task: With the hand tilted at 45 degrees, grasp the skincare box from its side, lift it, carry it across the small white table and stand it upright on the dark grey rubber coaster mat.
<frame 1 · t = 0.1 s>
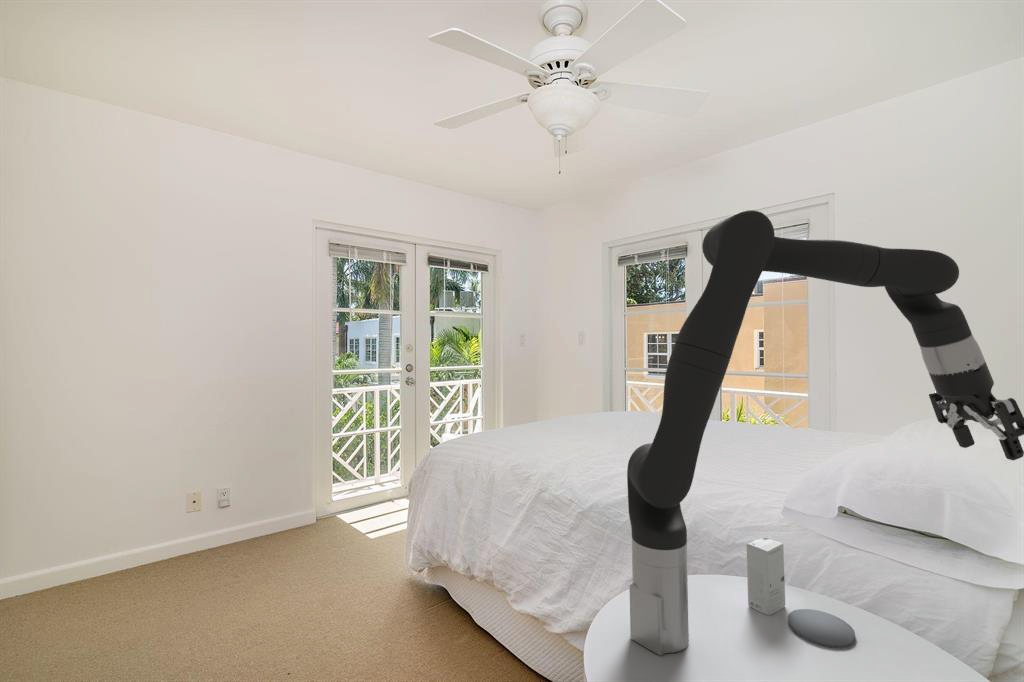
hand: (990, 451, 83), 31 cm above the table, tool tilted 20°, fingers open, 8 cm apart
coaster mat: (820, 629, 86), on the table
skincare box: (766, 607, 94), on the table
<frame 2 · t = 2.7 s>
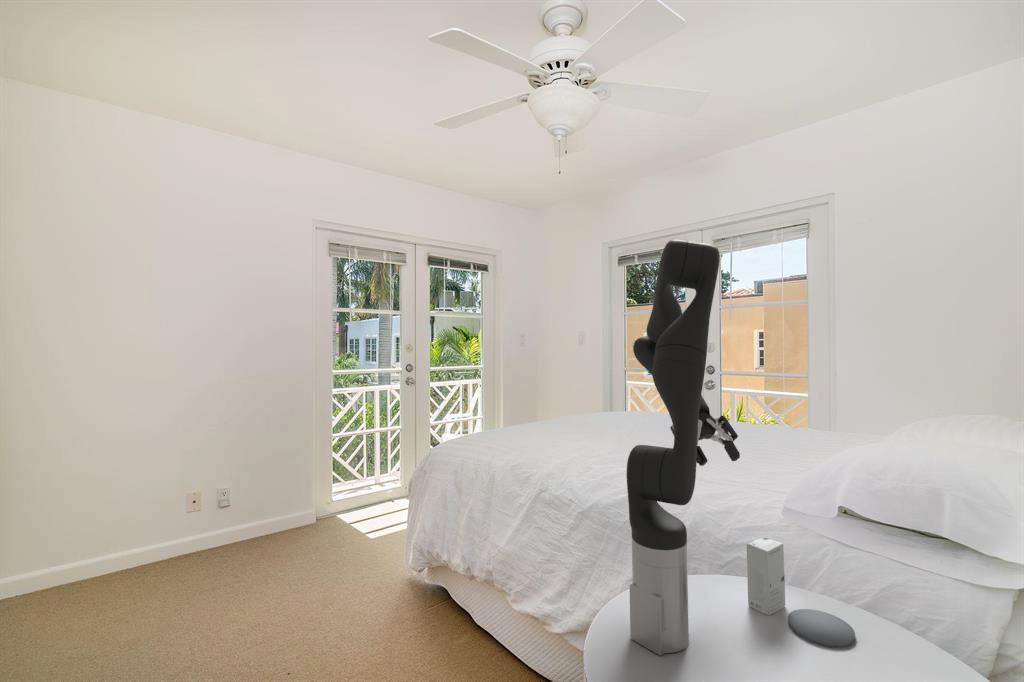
hand: (720, 461, 104), 25 cm above the table, tool tilted 45°, fingers open, 8 cm apart
nothing on the table moved.
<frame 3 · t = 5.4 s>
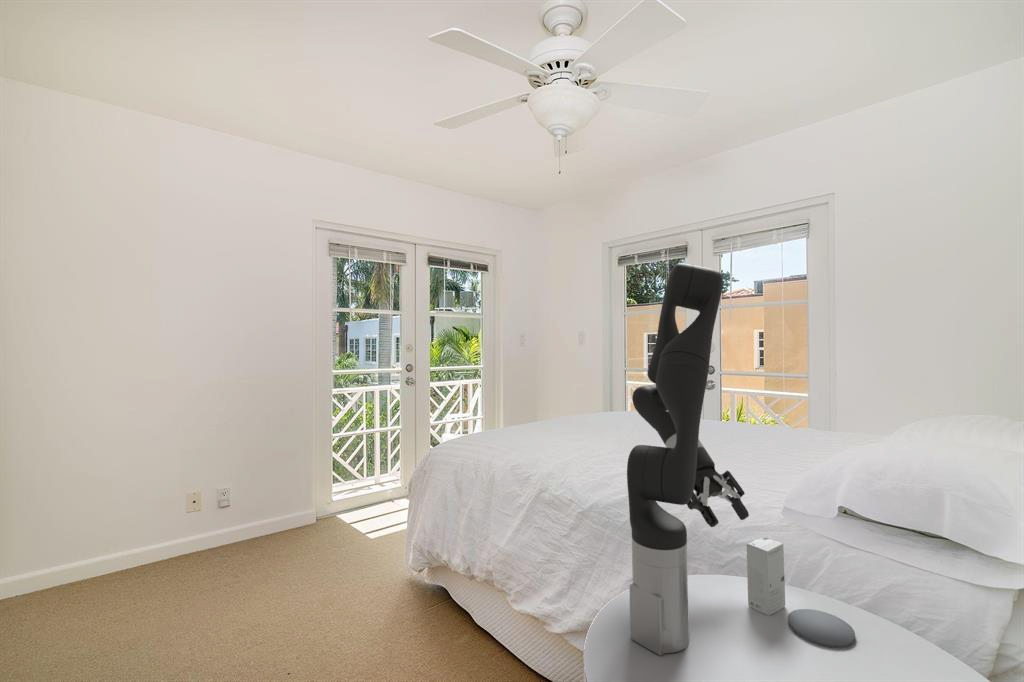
hand: (730, 521, 101), 13 cm above the table, tool tilted 45°, fingers open, 8 cm apart
nothing on the table moved.
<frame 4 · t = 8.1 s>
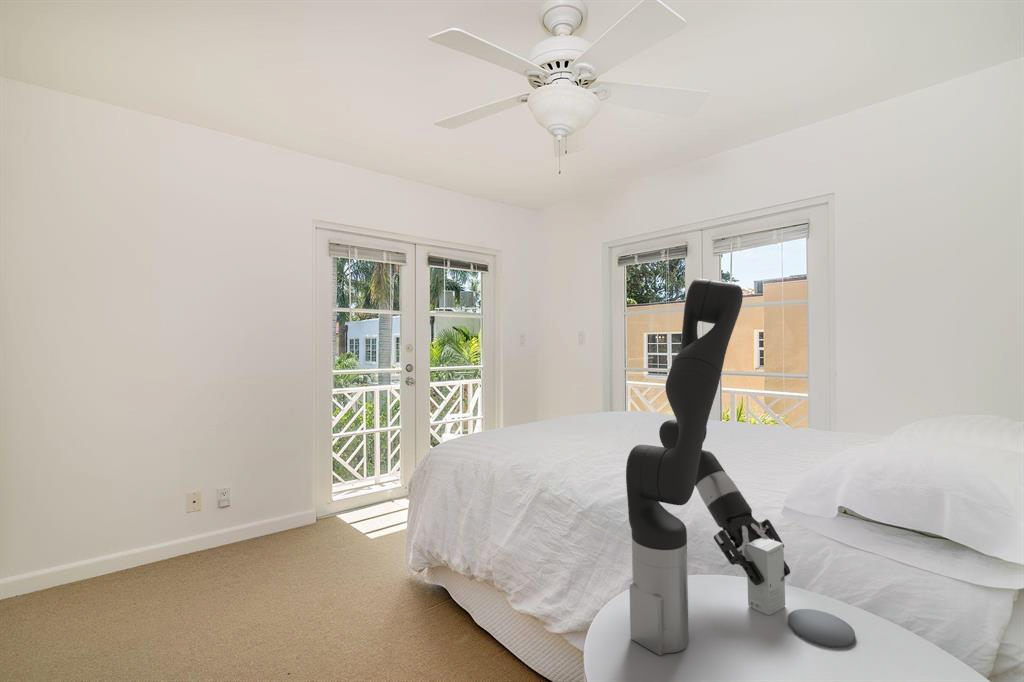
hand: (773, 579, 92), 6 cm above the table, tool tilted 45°, fingers closed on skincare box, 6 cm apart
skincare box: (766, 606, 94), on the table, touching gripper
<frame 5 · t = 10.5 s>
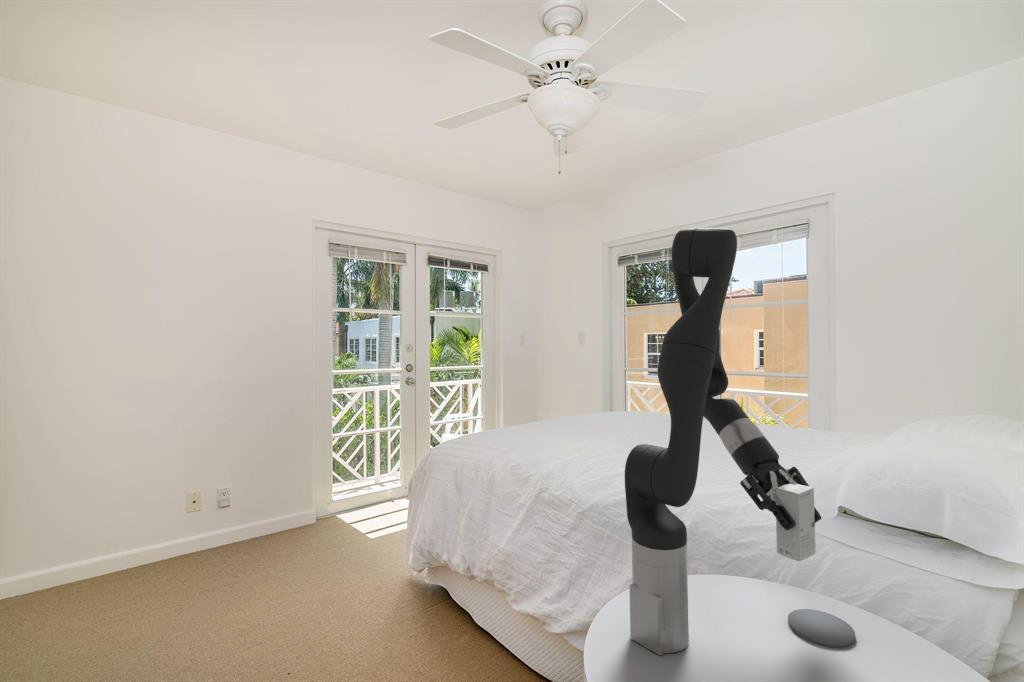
hand: (804, 524, 88), 18 cm above the table, tool tilted 45°, fingers closed on skincare box, 6 cm apart
skincare box: (795, 554, 89), point 12 cm above the table, touching gripper
when the fingers open (8 cm above the table, at t = 13.3 s): skincare box moves 1 cm, resting on coaster mat.
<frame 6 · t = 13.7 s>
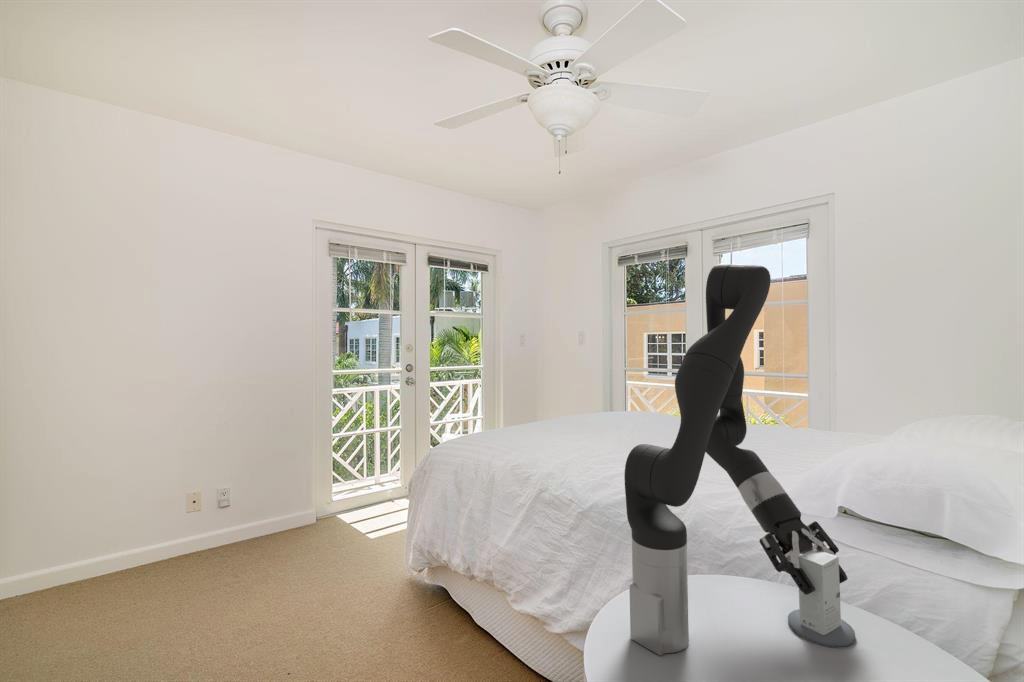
hand: (827, 587, 85), 8 cm above the table, tool tilted 45°, fingers open, 8 cm apart
skincare box: (819, 625, 86), point 1 cm above the table, touching coaster mat
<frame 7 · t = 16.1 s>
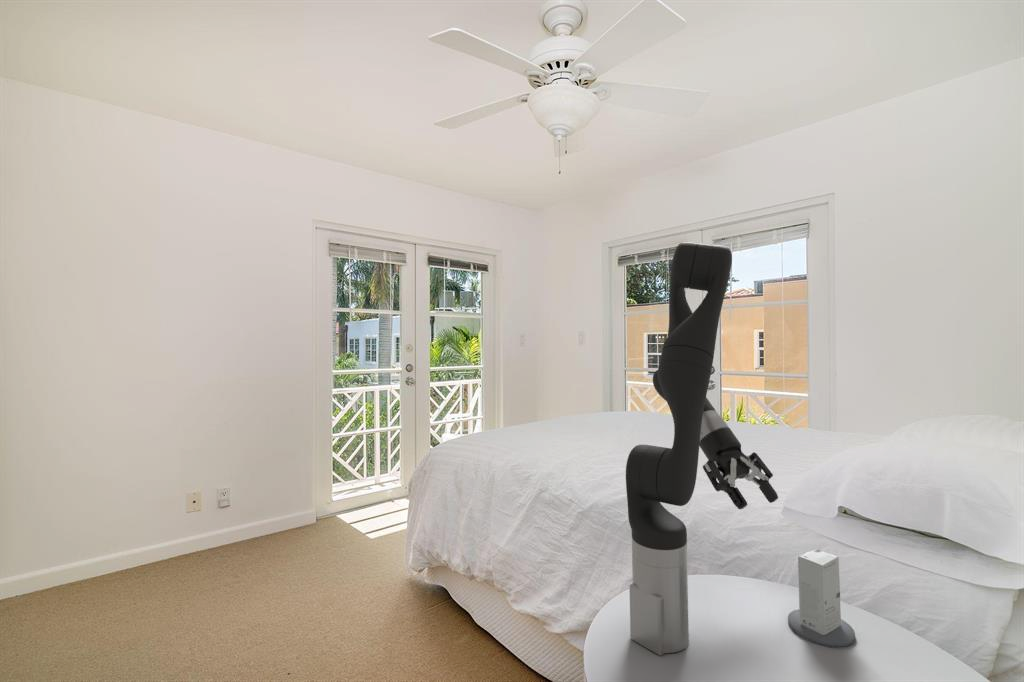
hand: (759, 503, 97), 19 cm above the table, tool tilted 45°, fingers open, 8 cm apart
nothing on the table moved.
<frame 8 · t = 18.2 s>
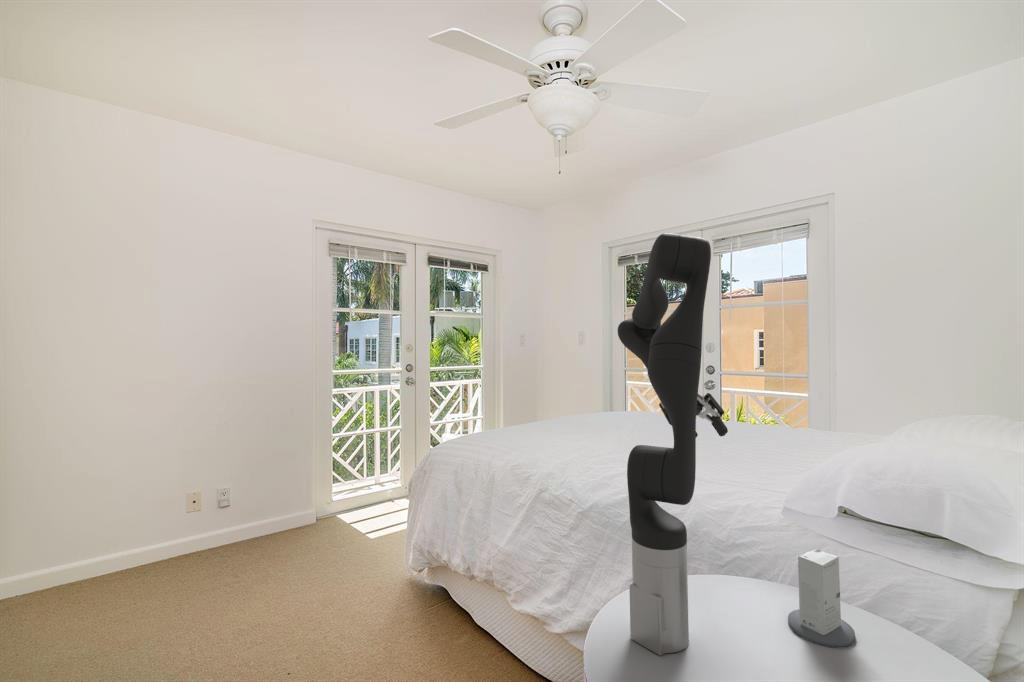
hand: (709, 436, 104), 31 cm above the table, tool tilted 45°, fingers open, 8 cm apart
nothing on the table moved.
at the end: skincare box 0.1 cm off-centre on the coaster mat, point 0.6 cm above the coaster mat's base; skincare box tilted 0°; the gripper is holding nothing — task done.
